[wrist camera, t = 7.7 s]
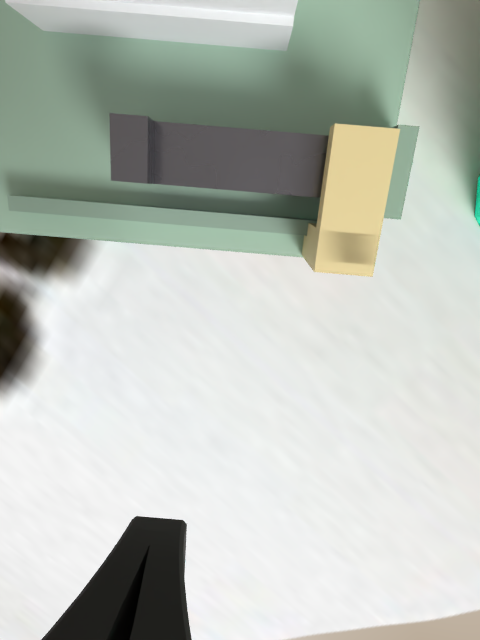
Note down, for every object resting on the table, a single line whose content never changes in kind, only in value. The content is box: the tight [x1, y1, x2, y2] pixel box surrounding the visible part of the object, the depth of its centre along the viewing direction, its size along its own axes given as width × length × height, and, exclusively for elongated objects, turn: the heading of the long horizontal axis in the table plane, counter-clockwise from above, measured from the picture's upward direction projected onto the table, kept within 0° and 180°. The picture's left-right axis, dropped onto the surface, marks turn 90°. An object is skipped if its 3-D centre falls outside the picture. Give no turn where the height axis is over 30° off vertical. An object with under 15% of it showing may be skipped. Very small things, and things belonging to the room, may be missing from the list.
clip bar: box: [109, 113, 329, 198], centre depth 14 cm, size 9×2×3 cm, turn 86°
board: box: [0, 0, 420, 277], centre depth 14 cm, size 16×12×4 cm
